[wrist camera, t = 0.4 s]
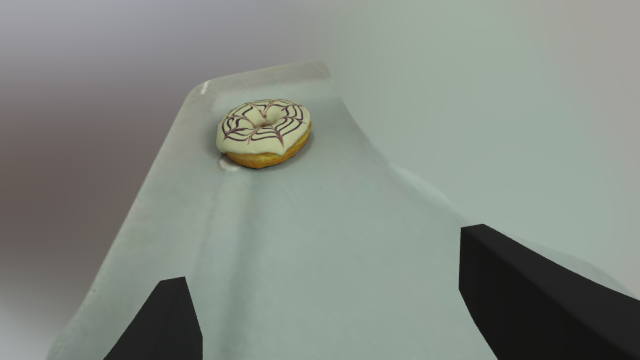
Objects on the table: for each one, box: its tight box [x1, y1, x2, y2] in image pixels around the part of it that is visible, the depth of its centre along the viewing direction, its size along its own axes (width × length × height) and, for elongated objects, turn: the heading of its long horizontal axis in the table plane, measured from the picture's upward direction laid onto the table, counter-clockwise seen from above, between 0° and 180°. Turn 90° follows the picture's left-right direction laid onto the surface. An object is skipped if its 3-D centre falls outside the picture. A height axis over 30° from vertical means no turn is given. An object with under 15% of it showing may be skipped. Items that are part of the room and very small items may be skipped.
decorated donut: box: [216, 99, 312, 169], centre depth 54 cm, size 10×11×4 cm
